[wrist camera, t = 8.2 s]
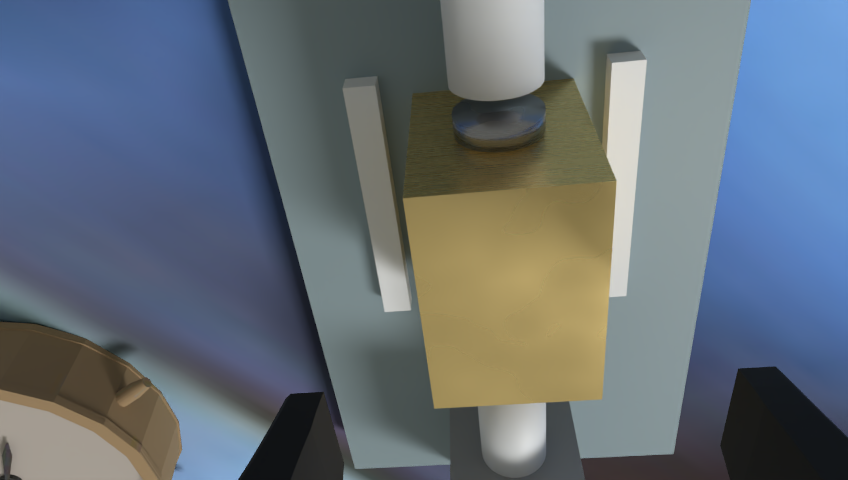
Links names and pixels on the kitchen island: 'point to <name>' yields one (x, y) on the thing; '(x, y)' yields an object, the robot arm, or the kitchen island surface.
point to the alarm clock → (79, 412)
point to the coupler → (510, 245)
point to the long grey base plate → (386, 223)
